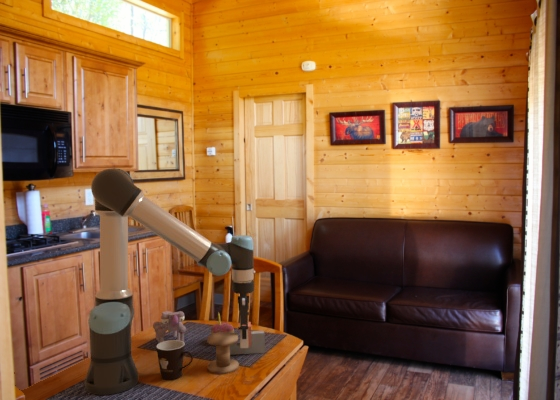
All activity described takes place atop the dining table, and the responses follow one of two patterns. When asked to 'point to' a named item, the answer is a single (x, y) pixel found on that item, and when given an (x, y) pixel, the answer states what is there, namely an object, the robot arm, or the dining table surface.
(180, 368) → the coffee mug
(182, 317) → the pale pink animal-shaped figure
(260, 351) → the notch board
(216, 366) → the door knob
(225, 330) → the cupcake
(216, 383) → the dining table surface
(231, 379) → the dining table surface
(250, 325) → the salmon pink block
